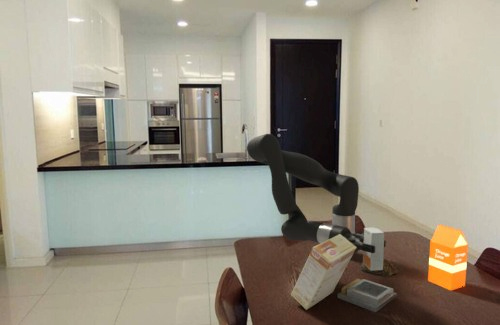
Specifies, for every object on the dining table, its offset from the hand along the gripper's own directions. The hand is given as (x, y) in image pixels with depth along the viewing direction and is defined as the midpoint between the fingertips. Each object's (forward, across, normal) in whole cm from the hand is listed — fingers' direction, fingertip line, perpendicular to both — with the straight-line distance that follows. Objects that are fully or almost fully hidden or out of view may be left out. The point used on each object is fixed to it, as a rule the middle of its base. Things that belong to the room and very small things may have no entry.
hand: (380, 246), depth 118 cm
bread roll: (-10, +23, +18) cm, 31 cm away
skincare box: (-2, 0, +7) cm, 8 cm away
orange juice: (+12, +28, +17) cm, 35 cm away
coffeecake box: (-16, -13, +16) cm, 26 cm away
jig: (-4, 0, +17) cm, 18 cm away
